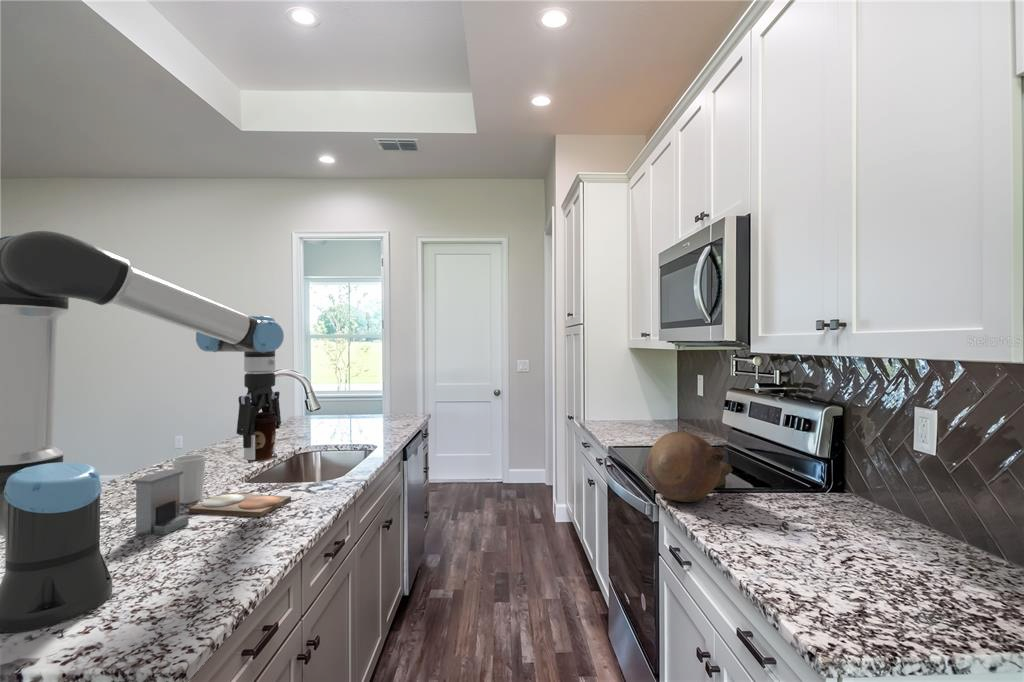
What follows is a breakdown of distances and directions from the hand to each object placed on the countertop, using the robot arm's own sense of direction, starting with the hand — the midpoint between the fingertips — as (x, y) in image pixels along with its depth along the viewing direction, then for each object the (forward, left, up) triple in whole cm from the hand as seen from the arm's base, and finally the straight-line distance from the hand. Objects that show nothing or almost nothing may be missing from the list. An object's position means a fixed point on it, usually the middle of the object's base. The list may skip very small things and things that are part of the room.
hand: (260, 455), depth 131 cm
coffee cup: (0, 0, -1) cm, 1 cm away
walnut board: (0, +6, -14) cm, 15 cm away
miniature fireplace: (-17, +14, -14) cm, 26 cm away
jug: (+27, -119, -14) cm, 123 cm away
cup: (+3, +25, -14) cm, 28 cm away
